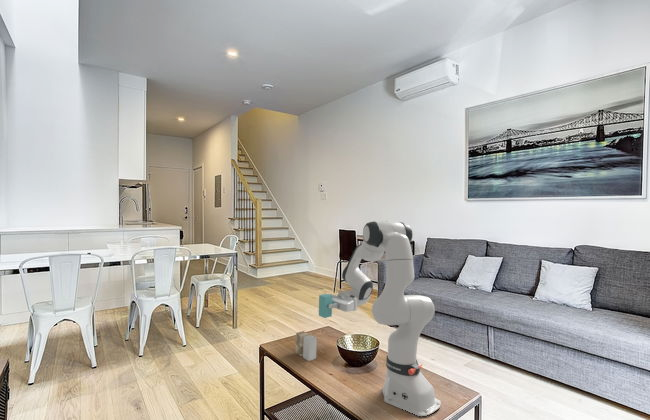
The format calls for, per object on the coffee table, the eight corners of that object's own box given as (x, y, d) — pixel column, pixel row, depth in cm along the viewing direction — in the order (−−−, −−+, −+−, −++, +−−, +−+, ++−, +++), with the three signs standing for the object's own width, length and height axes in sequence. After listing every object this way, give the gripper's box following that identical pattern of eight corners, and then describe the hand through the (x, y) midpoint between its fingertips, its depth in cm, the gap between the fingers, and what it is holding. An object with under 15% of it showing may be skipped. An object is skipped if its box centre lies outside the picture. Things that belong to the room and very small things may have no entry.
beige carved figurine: (308, 353, 165) (308, 333, 165) (301, 356, 162) (301, 335, 162) (302, 350, 169) (303, 331, 169) (295, 353, 166) (296, 333, 166)
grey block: (316, 358, 161) (316, 337, 161) (308, 361, 158) (309, 339, 158) (310, 355, 164) (310, 334, 164) (302, 357, 161) (303, 336, 161)
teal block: (331, 316, 163) (332, 295, 163) (324, 318, 160) (325, 297, 160) (325, 313, 166) (326, 293, 166) (318, 315, 163) (319, 295, 163)
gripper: (331, 289, 179) (310, 293, 170) (359, 298, 164) (338, 303, 155) (330, 301, 179) (310, 306, 170) (358, 311, 164) (338, 317, 155)
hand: (324, 304), depth 162 cm, fingers closed on teal block, 4 cm apart
